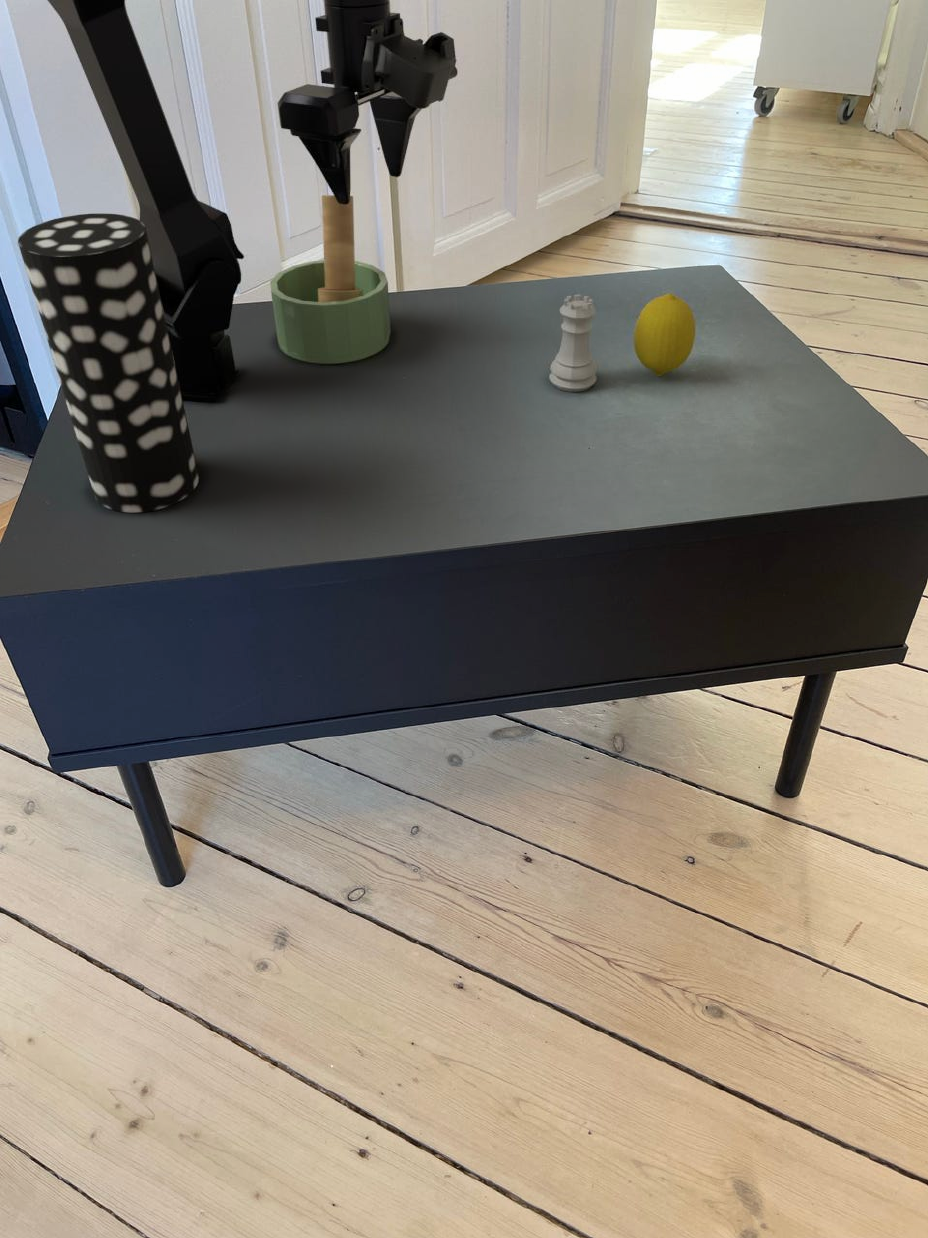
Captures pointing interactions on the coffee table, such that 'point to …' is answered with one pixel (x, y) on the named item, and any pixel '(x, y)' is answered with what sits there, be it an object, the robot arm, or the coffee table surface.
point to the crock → (330, 315)
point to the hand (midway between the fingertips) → (370, 189)
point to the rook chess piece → (574, 347)
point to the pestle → (338, 251)
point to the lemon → (664, 334)
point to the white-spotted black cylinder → (113, 357)
